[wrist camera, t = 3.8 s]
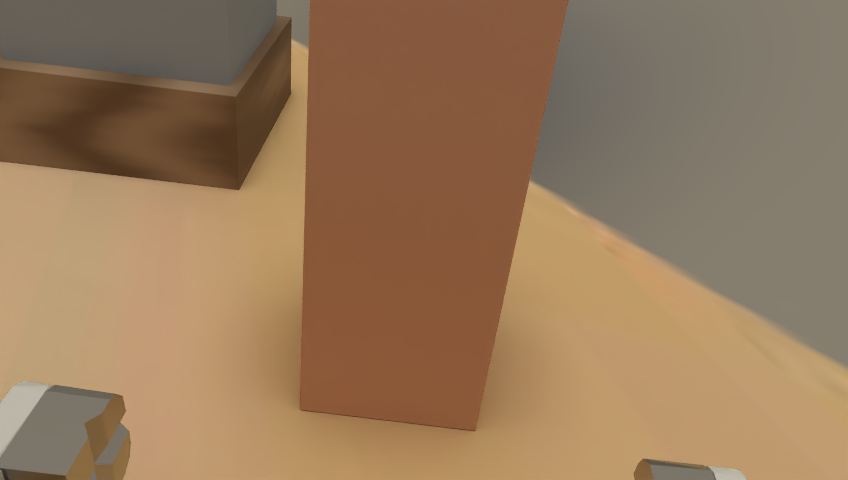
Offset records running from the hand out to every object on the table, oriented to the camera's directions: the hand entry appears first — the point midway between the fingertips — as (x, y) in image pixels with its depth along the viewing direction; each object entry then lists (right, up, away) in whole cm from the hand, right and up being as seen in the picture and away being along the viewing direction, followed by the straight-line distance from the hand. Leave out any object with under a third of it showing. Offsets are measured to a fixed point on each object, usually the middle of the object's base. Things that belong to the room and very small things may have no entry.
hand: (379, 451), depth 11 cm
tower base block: (-14, +9, +27) cm, 32 cm away
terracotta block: (0, -1, +14) cm, 14 cm away
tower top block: (-13, +14, +25) cm, 31 cm away
